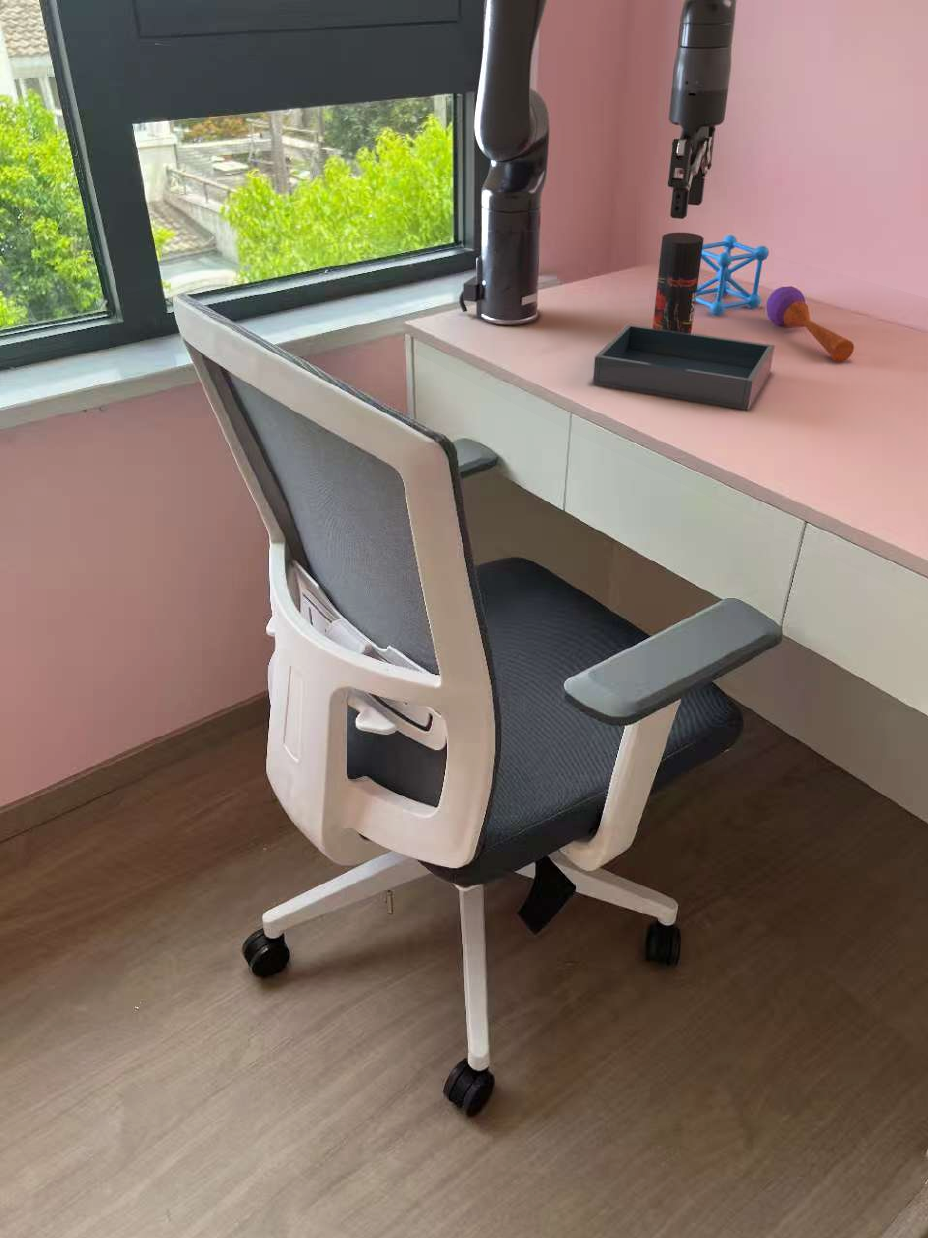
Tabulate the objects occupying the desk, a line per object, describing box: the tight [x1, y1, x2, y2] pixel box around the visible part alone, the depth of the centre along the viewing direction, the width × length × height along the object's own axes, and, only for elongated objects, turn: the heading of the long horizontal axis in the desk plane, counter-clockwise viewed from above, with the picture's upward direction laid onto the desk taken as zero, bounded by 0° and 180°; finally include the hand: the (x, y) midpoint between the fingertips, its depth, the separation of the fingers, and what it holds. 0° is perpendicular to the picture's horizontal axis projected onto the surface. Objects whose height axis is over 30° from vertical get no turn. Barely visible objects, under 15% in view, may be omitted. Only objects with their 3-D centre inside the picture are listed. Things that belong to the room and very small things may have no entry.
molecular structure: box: [695, 234, 770, 316], centre depth 163 cm, size 10×10×10 cm
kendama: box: [765, 285, 855, 363], centre depth 150 cm, size 6×6×20 cm
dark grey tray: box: [592, 324, 776, 411], centre depth 138 cm, size 22×15×4 cm
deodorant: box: [652, 232, 704, 333], centre depth 148 cm, size 6×6×15 cm
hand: (686, 210), depth 142 cm, fingers open, 8 cm apart
